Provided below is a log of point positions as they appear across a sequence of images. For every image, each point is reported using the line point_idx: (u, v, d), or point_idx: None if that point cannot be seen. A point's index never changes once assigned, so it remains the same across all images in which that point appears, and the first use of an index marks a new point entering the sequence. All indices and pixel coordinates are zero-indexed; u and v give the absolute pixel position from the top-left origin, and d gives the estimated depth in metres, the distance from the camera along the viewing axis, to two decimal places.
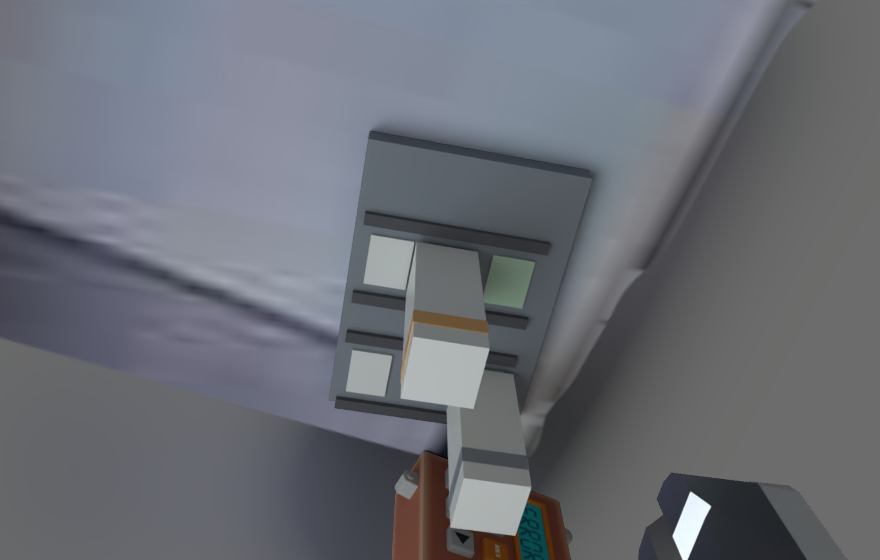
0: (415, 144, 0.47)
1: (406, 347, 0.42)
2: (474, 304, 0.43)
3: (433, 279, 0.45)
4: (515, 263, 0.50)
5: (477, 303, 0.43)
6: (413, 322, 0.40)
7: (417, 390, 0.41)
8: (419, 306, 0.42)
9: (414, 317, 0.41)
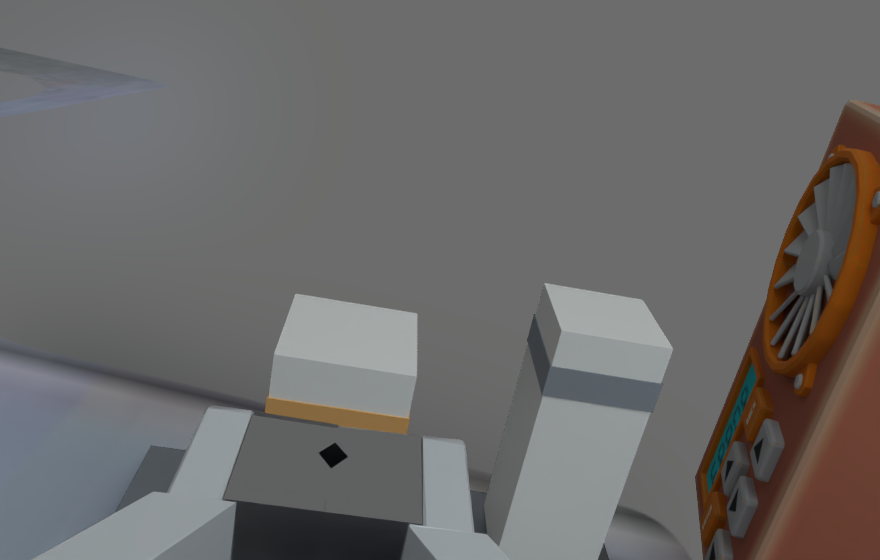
0: None
1: None
2: None
3: None
4: None
5: None
6: (269, 397, 0.22)
7: (395, 358, 0.22)
8: None
9: (265, 407, 0.22)
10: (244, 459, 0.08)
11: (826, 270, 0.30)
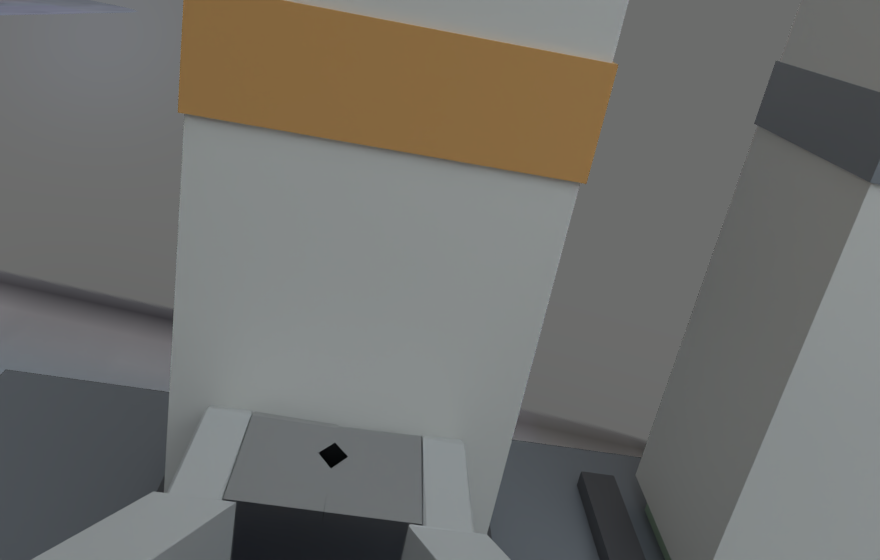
0: None
1: (406, 98, 0.07)
2: None
3: None
4: None
5: None
6: None
7: None
8: (190, 149, 0.08)
9: (184, 25, 0.07)
10: (244, 459, 0.08)
11: None
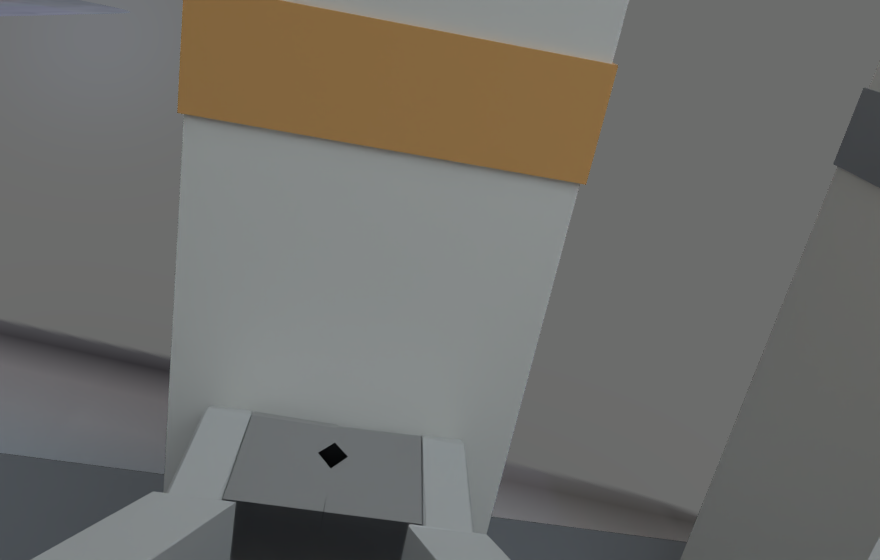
0: None
1: (406, 99, 0.07)
2: None
3: None
4: None
5: None
6: None
7: None
8: (189, 149, 0.08)
9: (183, 25, 0.07)
10: (244, 459, 0.08)
11: None
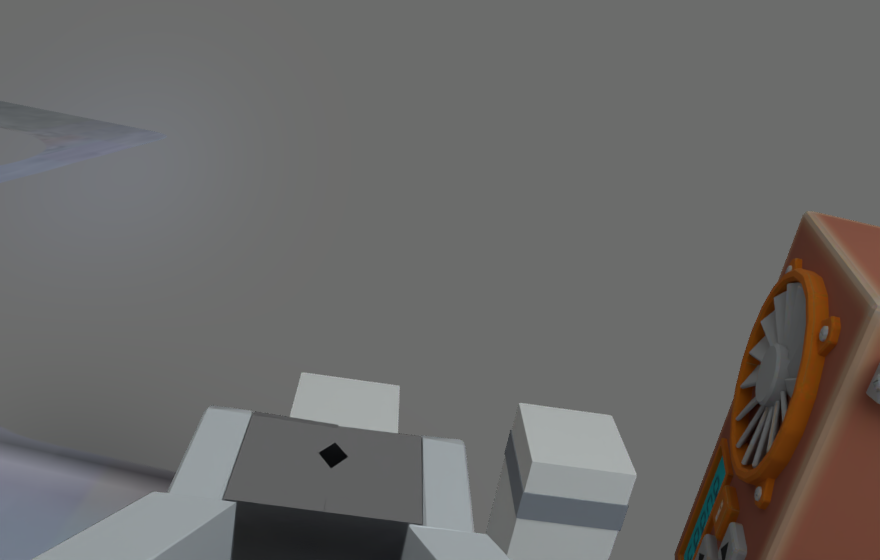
0: None
1: None
2: None
3: None
4: None
5: None
6: None
7: (380, 428, 0.28)
8: None
9: None
10: (244, 459, 0.08)
11: (783, 386, 0.32)
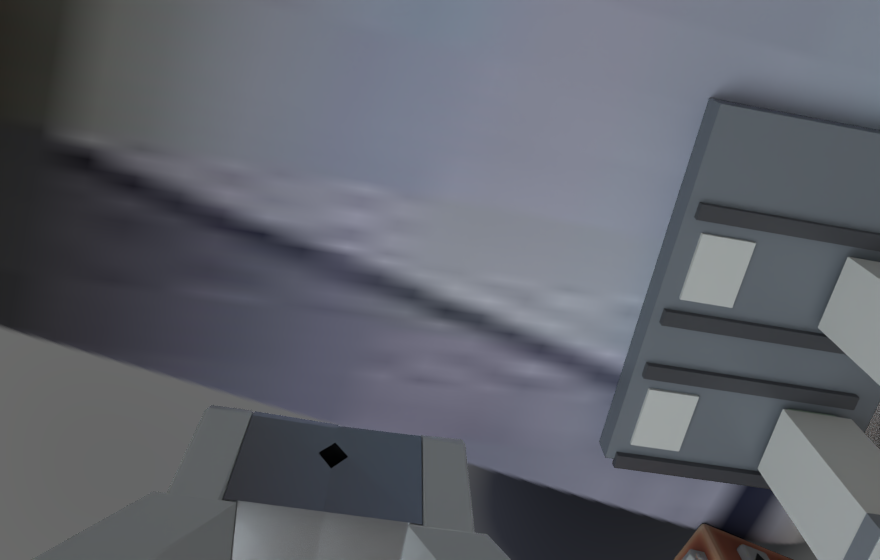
0: (774, 112, 0.36)
1: None
2: None
3: None
4: None
5: None
6: None
7: None
8: None
9: None
10: (244, 459, 0.08)
11: None
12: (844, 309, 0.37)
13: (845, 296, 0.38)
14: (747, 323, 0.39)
